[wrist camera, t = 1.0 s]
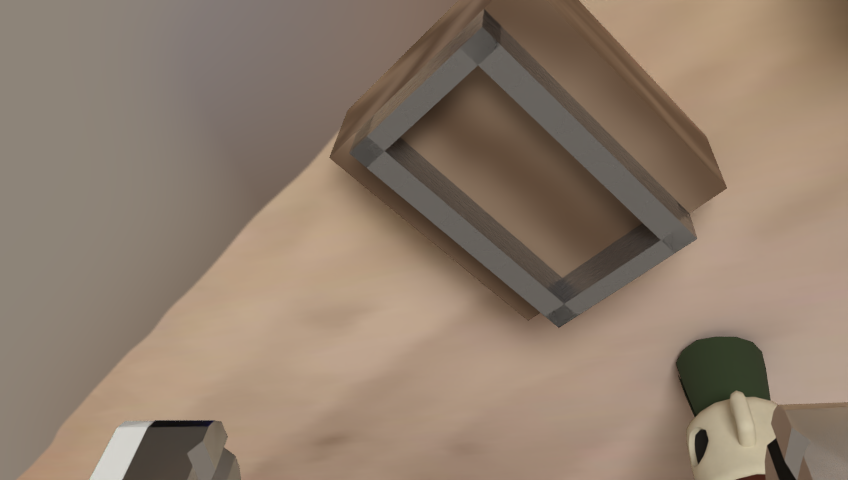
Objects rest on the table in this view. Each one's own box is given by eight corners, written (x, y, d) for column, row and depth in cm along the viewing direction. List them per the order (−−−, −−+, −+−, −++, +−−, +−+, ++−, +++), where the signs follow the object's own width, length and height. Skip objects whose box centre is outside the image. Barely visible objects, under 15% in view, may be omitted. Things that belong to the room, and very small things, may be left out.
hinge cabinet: (520, -62, 43) (521, -11, 36) (706, 136, 48) (736, 213, 42) (347, 110, 50) (320, 180, 43) (527, 264, 56) (528, 347, 49)
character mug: (660, 313, 57) (691, 457, 47) (762, 297, 56) (818, 443, 45) (677, 411, 63) (708, 558, 53) (770, 400, 61) (822, 550, 51)
